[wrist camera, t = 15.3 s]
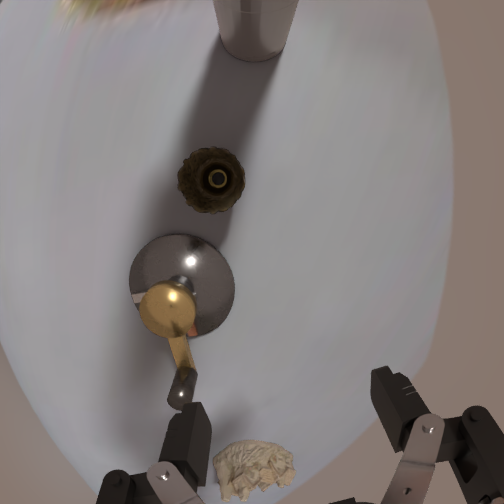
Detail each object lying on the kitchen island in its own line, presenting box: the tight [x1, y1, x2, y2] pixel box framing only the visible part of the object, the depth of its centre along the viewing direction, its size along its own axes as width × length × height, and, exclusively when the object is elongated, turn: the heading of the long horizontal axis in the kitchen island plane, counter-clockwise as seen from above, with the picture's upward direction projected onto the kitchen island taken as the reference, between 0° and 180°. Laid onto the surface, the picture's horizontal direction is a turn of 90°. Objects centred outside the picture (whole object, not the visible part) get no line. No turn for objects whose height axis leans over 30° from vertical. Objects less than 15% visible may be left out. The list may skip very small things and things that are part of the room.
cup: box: [178, 146, 245, 214], centre depth 35 cm, size 8×7×8 cm
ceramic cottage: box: [213, 440, 296, 502], centre depth 48 cm, size 16×16×15 cm
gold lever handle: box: [139, 280, 198, 411], centre depth 34 cm, size 15×7×8 cm, turn 8°
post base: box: [129, 234, 235, 337], centre depth 40 cm, size 16×16×6 cm
